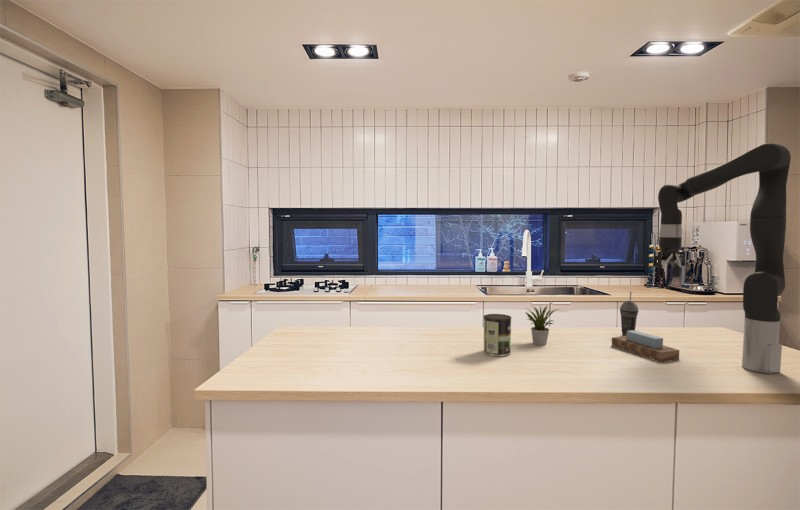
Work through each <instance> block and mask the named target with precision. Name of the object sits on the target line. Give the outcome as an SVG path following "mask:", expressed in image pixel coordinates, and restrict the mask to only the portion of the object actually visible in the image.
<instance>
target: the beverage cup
mask: <svg viewBox="0 0 800 510" xmlns="http://www.w3.org/2000/svg"><path fill="white" fill-rule="evenodd" d="M619 313H620V322H621V324H620V325H621V336H622V335H623V336H627V331H631V330H634V331H636V325H637V319H638V314H639V308H638V305H637V303H635V302H634V301H632V291H630V293H629V300H628V301H627V300H626V301H624V302H623V303H622V304H621V305H620V308H619Z"/></svg>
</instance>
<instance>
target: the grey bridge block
mask: <svg viewBox="0 0 800 510" xmlns="http://www.w3.org/2000/svg"><path fill="white" fill-rule="evenodd" d="M626 340H629V341H632V342H636V343H639V344H642V345H646V346H649V347H652V348H663V345H664V338H663V337H660V336H655V335H653V334H649V333H644V332H641V331H639V330H635V331H634V330H631V331H627V336H626Z"/></svg>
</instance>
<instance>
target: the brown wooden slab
mask: <svg viewBox="0 0 800 510" xmlns="http://www.w3.org/2000/svg"><path fill="white" fill-rule="evenodd" d="M613 346H615V347H614V348H616V347H618V348H617V349H619V348H621V349H620V350H622V349H624V350H623V351H625V350H627V351H626V352H628V351H630V352H629V353H631V352H633V353H632V354H634V353H636V354H635V355H637V354H639V355H638V356H640V355H642V356H641V357H643V356H645V357H644V358H647V357H648V358H647V359H650V358H651V359H650V360H653V359H654V360H653V361H656V362H659V363H663V362H664V361H665V362H671V361H670V360H672V361H678V359H679V360H680V349H677V348H675V347H674V348H673V347H671V346H670V347H669V346H666V345H664V344H663V348H652V347H649V346H646V345H642V344H639V343H636V342H632V341H629V340H626V336H622V335H621V336H612V337H611V347H613ZM665 362H664V363H665Z"/></svg>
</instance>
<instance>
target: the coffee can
mask: <svg viewBox="0 0 800 510" xmlns="http://www.w3.org/2000/svg"><path fill="white" fill-rule="evenodd" d="M511 332H512V316H511V315H508V314H503V313H489V314H484V315H483V351H482V352H483V354H484V355H487V356H491V357H498V358H499V357H508V356H510V355H511V353H512V352H511V351H512V350H511V349H512V348H511V347H512V346H511V343H512V342H511V338H512V337H511V336H512V335H511V334H512V333H511Z"/></svg>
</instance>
